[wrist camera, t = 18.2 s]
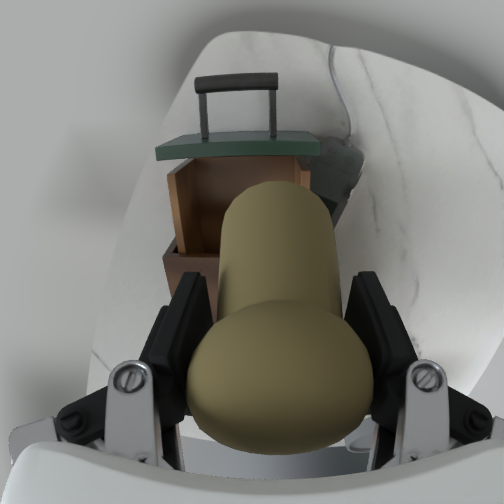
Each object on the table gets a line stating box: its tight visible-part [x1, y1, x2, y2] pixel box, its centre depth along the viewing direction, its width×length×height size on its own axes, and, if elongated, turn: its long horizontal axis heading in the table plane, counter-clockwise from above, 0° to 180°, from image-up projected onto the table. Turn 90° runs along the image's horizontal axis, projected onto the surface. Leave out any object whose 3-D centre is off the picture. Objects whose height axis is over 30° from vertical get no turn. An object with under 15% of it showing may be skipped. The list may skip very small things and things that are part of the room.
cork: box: [186, 181, 374, 455], centre depth 10 cm, size 6×6×11 cm
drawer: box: [155, 73, 321, 254], centre depth 26 cm, size 21×13×8 cm, turn 2°
